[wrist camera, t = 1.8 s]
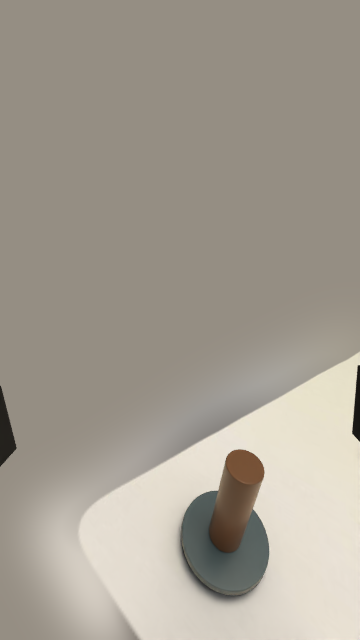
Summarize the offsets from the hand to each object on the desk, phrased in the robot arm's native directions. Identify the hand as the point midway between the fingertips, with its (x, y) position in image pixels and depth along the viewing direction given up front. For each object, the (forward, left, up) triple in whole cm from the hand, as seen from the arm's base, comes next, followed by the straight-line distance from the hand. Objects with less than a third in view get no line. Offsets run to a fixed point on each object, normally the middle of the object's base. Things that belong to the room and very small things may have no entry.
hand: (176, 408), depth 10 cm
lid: (+5, +3, -16) cm, 17 cm away
